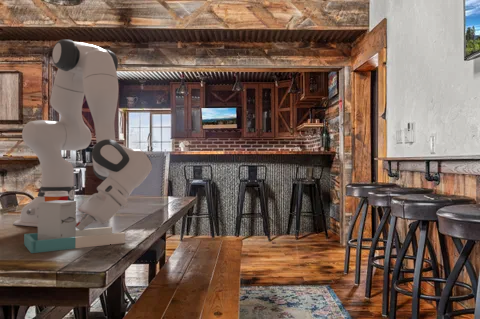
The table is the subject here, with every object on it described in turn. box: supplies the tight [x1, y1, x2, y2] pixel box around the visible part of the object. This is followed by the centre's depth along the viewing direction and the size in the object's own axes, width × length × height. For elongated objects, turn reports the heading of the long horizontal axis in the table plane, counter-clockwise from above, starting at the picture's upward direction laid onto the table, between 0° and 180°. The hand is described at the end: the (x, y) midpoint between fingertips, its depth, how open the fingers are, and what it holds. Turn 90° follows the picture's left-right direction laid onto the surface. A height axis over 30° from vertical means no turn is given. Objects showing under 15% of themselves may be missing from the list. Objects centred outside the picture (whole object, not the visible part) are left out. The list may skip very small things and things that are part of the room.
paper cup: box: [44, 191, 69, 202], centre depth 133 cm, size 8×8×14 cm
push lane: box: [23, 226, 126, 254], centre depth 119 cm, size 25×13×3 cm, turn 125°
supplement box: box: [37, 200, 77, 240], centre depth 116 cm, size 7×7×13 cm
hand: (77, 228), depth 119 cm, fingers closed
